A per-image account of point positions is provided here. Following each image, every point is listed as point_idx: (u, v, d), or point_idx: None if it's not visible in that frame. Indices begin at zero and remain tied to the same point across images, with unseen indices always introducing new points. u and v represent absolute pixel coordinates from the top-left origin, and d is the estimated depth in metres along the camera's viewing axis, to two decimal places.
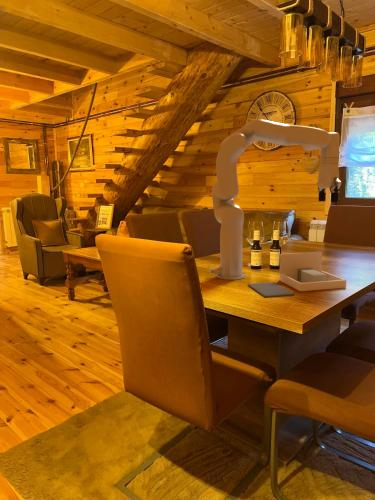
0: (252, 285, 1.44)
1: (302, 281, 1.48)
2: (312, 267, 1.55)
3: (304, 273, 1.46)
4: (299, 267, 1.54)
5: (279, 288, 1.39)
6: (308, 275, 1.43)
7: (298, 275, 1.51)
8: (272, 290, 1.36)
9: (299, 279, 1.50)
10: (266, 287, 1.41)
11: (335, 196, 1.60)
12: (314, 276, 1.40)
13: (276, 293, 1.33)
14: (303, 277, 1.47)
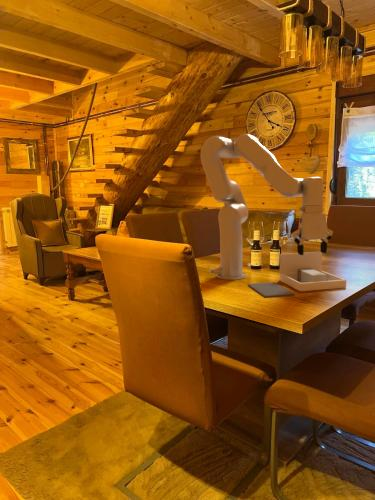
0: (252, 285, 1.44)
1: (302, 281, 1.48)
2: (312, 267, 1.55)
3: (304, 273, 1.46)
4: (299, 267, 1.54)
5: (279, 288, 1.39)
6: (308, 275, 1.43)
7: (298, 275, 1.51)
8: (272, 290, 1.36)
9: (299, 279, 1.50)
10: (266, 287, 1.41)
11: None
12: (314, 276, 1.40)
13: (276, 293, 1.33)
14: (303, 277, 1.47)
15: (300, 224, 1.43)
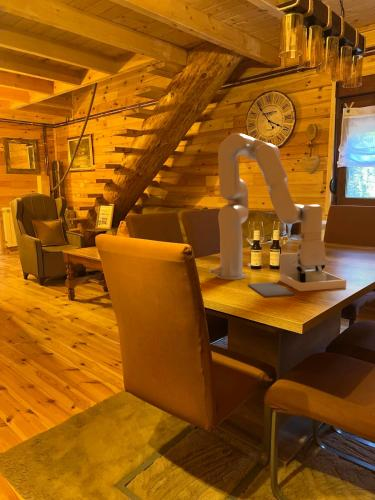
0: (252, 285, 1.44)
1: None
2: (312, 267, 1.55)
3: None
4: None
5: (279, 288, 1.39)
6: (308, 275, 1.43)
7: (298, 275, 1.51)
8: (272, 290, 1.36)
9: (299, 279, 1.50)
10: (266, 287, 1.41)
11: None
12: (314, 276, 1.40)
13: (276, 293, 1.33)
14: None
15: (299, 250, 1.45)
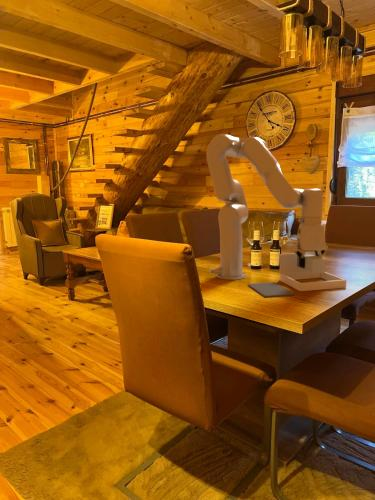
0: (252, 285, 1.44)
1: None
2: None
3: None
4: (299, 267, 1.54)
5: (279, 288, 1.39)
6: (308, 260, 1.42)
7: (297, 260, 1.50)
8: (272, 290, 1.36)
9: (298, 264, 1.49)
10: (266, 287, 1.41)
11: None
12: (314, 260, 1.39)
13: (276, 293, 1.33)
14: None
15: (298, 235, 1.44)
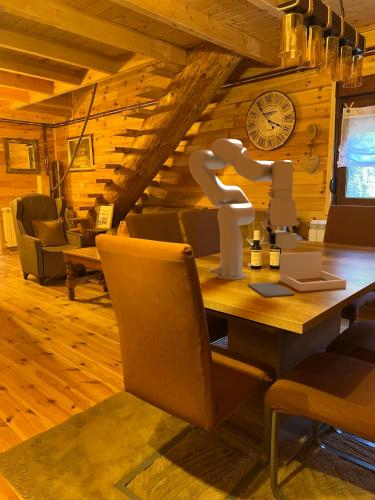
0: (252, 285, 1.44)
1: None
2: (312, 267, 1.55)
3: None
4: (299, 267, 1.54)
5: (279, 288, 1.39)
6: (278, 235, 1.35)
7: (268, 237, 1.43)
8: (272, 290, 1.36)
9: (269, 241, 1.42)
10: (266, 287, 1.41)
11: None
12: (284, 235, 1.32)
13: (276, 293, 1.33)
14: None
15: (268, 210, 1.36)
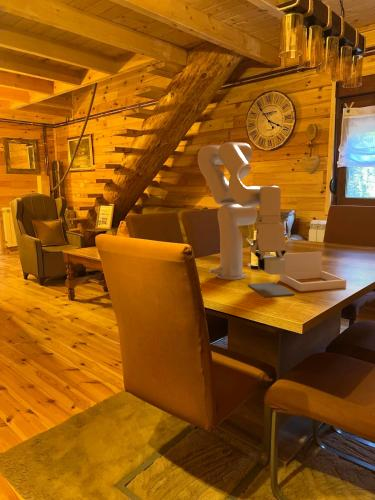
0: (252, 285, 1.44)
1: None
2: (312, 267, 1.55)
3: None
4: (299, 267, 1.54)
5: (279, 288, 1.39)
6: (266, 261, 1.34)
7: (258, 262, 1.42)
8: (272, 290, 1.36)
9: None
10: (266, 287, 1.41)
11: None
12: (272, 261, 1.31)
13: (276, 293, 1.33)
14: None
15: (257, 235, 1.36)
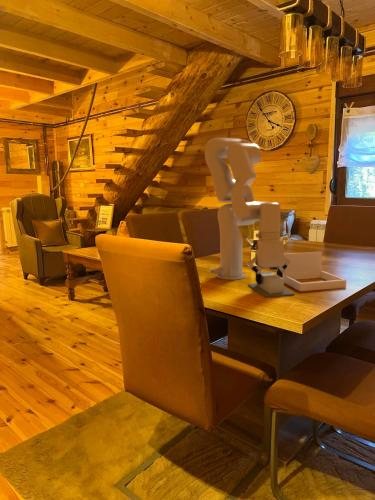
0: (252, 285, 1.44)
1: (261, 285, 1.40)
2: (312, 267, 1.55)
3: (262, 277, 1.38)
4: (299, 267, 1.54)
5: None
6: (265, 279, 1.35)
7: None
8: None
9: None
10: None
11: None
12: (271, 280, 1.32)
13: (276, 293, 1.33)
14: (261, 281, 1.39)
15: (256, 251, 1.37)
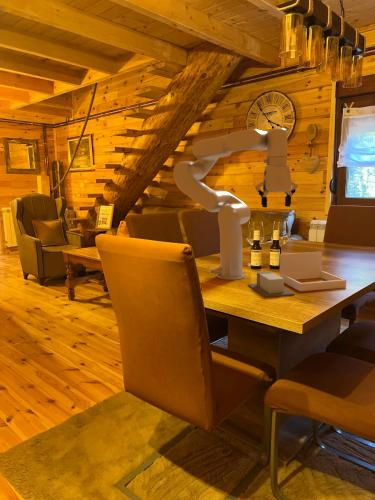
0: (252, 285, 1.44)
1: (261, 285, 1.40)
2: (312, 267, 1.55)
3: (262, 277, 1.38)
4: (299, 267, 1.54)
5: None
6: (265, 279, 1.35)
7: (257, 279, 1.43)
8: None
9: (258, 283, 1.43)
10: None
11: None
12: (271, 280, 1.32)
13: (276, 293, 1.33)
14: (261, 281, 1.39)
15: (264, 176, 1.43)
